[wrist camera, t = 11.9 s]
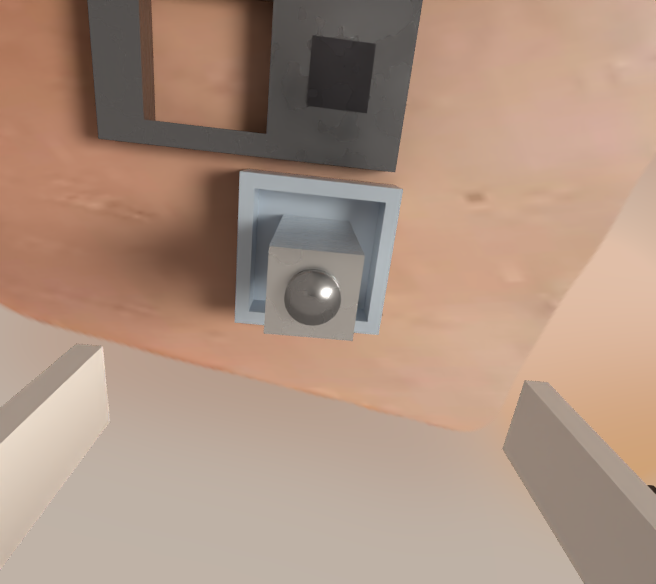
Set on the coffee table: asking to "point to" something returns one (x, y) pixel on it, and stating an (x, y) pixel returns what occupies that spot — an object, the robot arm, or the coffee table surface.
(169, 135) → the grey slotted plate
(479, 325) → the coffee table surface
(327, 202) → the tray
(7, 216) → the coffee table surface
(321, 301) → the knob block
